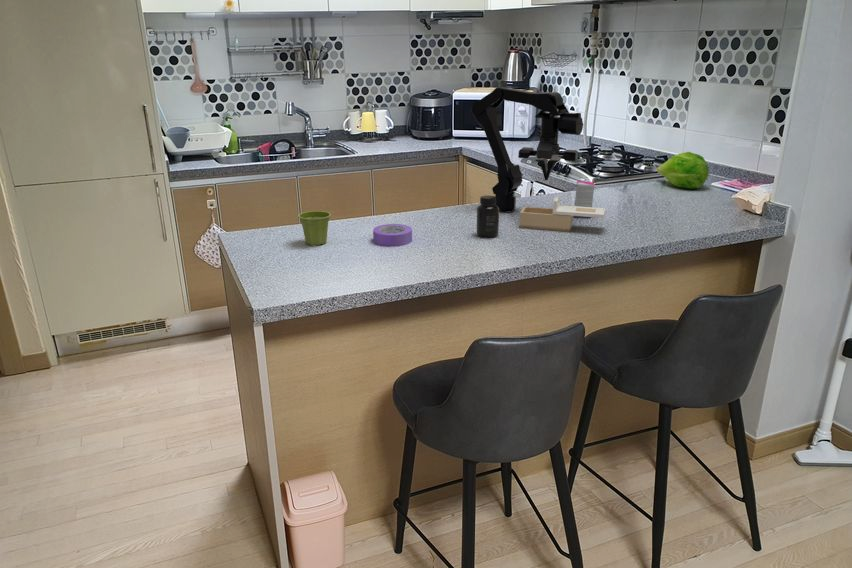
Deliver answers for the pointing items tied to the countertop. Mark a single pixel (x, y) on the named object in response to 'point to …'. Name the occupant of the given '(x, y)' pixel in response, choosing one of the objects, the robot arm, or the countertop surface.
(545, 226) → the base
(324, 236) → the plant pot
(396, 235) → the masking tape
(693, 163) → the lettuce
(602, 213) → the lid
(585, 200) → the supplement box
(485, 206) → the supplement bottle
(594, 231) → the countertop surface
